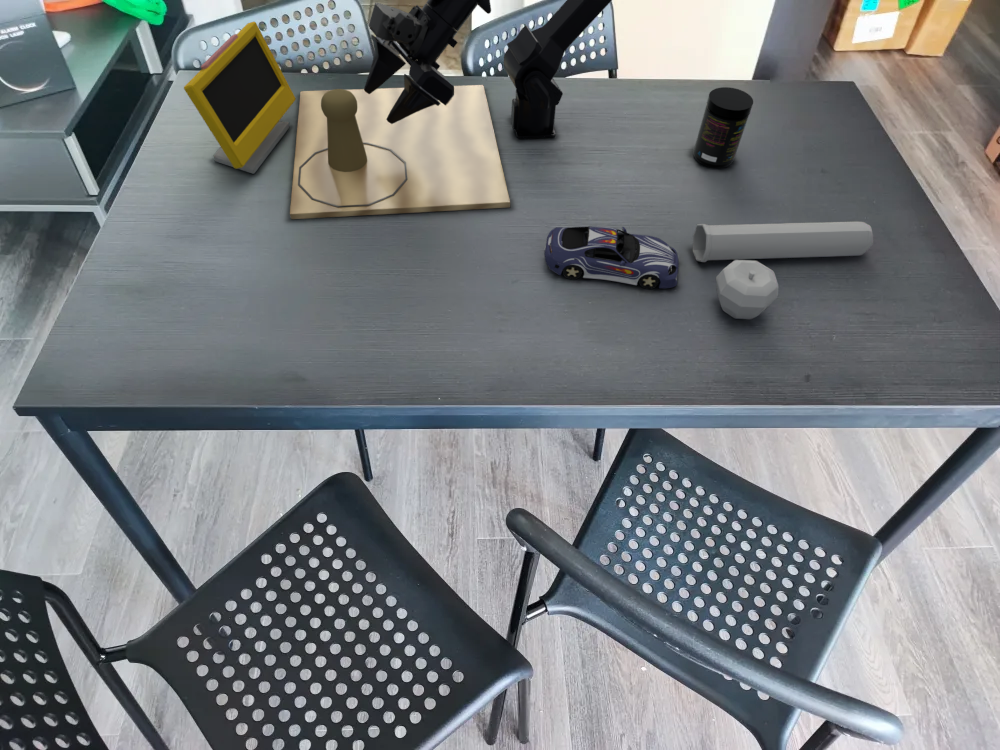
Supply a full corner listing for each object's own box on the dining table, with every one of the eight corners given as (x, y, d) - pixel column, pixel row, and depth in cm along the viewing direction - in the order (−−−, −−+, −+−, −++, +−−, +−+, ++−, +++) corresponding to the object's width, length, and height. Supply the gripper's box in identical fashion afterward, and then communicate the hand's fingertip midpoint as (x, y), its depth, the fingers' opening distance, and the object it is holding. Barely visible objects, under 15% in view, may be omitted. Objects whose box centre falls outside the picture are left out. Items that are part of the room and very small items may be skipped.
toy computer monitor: (248, 187, 106) (219, 88, 94) (199, 179, 107) (165, 79, 95) (300, 117, 118) (280, 22, 106) (256, 111, 119) (232, 15, 107)
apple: (695, 295, 94) (708, 258, 89) (745, 282, 96) (760, 245, 91) (728, 337, 90) (744, 300, 85) (779, 322, 92) (798, 286, 87)
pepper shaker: (339, 146, 112) (328, 79, 103) (374, 154, 111) (365, 88, 102) (321, 166, 108) (308, 99, 100) (356, 175, 107) (346, 108, 98)
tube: (864, 213, 101) (695, 217, 98) (885, 226, 96) (709, 231, 94) (854, 248, 103) (690, 253, 101) (874, 263, 99) (702, 268, 97)
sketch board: (483, 89, 126) (483, 84, 125) (510, 207, 105) (510, 201, 104) (301, 96, 123) (300, 90, 122) (290, 219, 101) (289, 213, 101)
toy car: (677, 293, 94) (685, 265, 91) (540, 276, 96) (543, 247, 92) (676, 255, 99) (684, 227, 96) (546, 239, 101) (549, 210, 97)
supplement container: (737, 153, 116) (757, 93, 108) (728, 174, 112) (748, 114, 104) (697, 142, 118) (714, 83, 110) (687, 163, 114) (704, 103, 106)
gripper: (375, -44, 99) (314, 49, 104) (430, 10, 89) (358, 110, 94) (429, 4, 108) (370, 88, 113) (484, 58, 97) (416, 148, 102)
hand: (377, 106), depth 105 cm, fingers open, 9 cm apart
